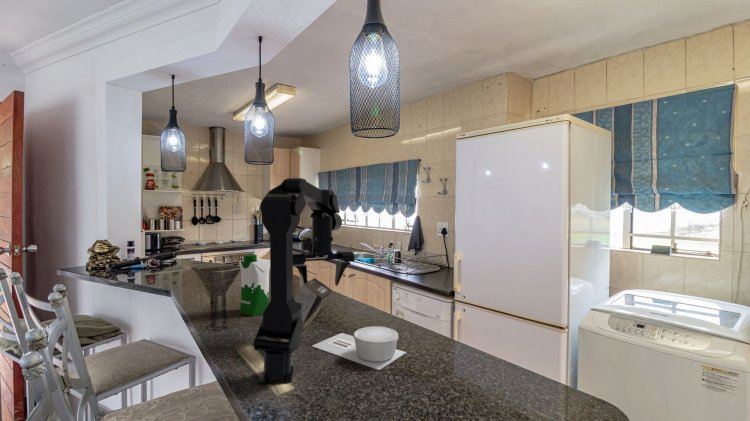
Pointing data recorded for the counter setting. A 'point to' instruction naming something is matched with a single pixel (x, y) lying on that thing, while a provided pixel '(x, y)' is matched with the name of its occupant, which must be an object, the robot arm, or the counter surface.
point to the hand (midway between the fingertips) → (321, 286)
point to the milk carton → (254, 284)
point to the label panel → (351, 350)
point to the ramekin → (375, 343)
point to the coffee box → (311, 301)
